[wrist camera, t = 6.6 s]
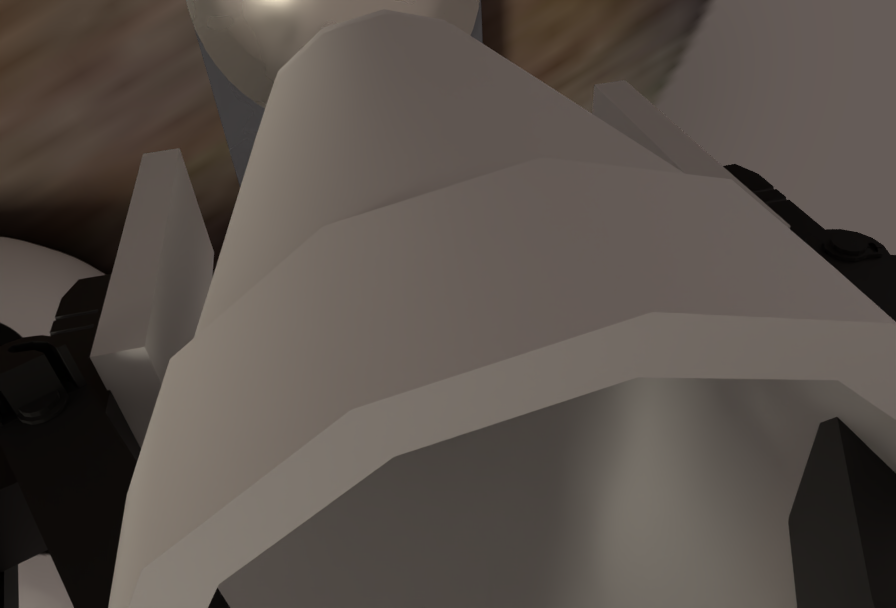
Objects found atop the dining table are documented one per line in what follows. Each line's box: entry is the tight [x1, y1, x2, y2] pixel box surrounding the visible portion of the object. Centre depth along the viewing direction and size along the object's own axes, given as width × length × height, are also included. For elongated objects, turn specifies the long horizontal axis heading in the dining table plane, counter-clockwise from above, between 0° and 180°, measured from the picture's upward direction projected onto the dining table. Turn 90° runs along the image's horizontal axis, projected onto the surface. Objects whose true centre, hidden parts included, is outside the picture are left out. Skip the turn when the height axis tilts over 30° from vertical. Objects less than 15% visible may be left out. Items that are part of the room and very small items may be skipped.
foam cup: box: [108, 9, 896, 608], centre depth 13 cm, size 10×9×13 cm
